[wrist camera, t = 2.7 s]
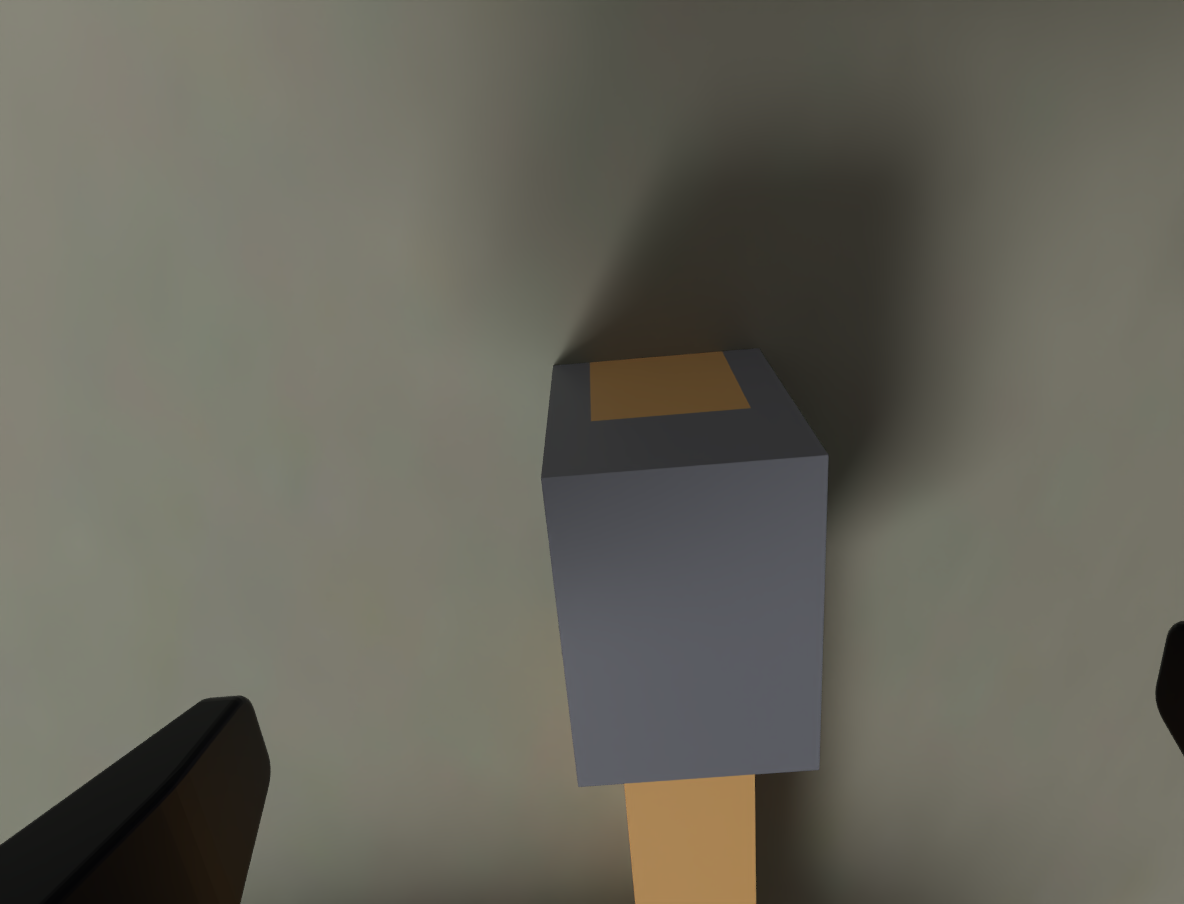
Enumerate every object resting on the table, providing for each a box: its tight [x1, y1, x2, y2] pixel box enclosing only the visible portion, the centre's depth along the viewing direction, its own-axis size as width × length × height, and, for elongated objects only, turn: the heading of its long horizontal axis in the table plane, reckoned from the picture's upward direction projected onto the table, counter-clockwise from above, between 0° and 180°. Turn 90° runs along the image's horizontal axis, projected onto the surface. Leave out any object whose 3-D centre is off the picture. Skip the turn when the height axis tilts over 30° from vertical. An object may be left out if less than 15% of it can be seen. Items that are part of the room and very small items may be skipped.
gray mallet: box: [541, 348, 829, 904], centre depth 13 cm, size 3×15×4 cm, turn 5°
